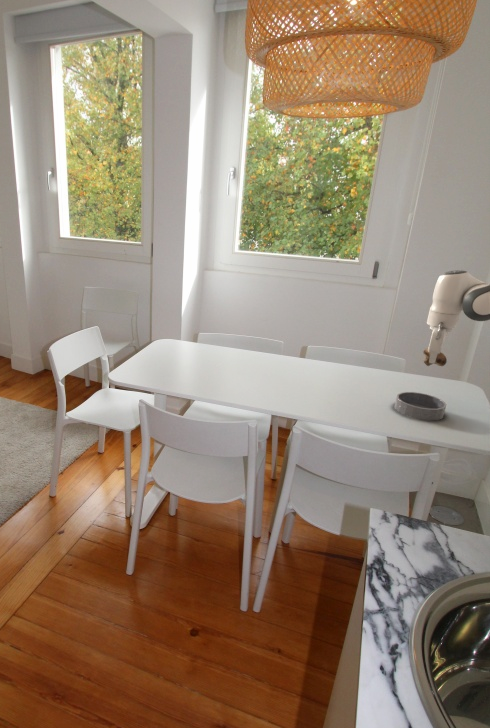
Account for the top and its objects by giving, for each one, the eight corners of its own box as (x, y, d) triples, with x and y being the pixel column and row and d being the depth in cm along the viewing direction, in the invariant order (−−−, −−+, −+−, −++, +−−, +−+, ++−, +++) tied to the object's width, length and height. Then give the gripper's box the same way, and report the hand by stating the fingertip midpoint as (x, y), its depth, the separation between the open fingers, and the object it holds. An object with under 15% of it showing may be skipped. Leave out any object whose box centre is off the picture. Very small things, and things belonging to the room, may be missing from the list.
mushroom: (418, 358, 159) (432, 343, 157) (414, 359, 166) (427, 345, 165) (439, 373, 157) (453, 358, 155) (433, 373, 164) (447, 359, 163)
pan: (444, 410, 167) (447, 398, 165) (440, 425, 155) (444, 413, 154) (398, 399, 175) (400, 388, 173) (390, 413, 163) (393, 402, 162)
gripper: (451, 327, 146) (441, 369, 151) (455, 315, 162) (445, 353, 167) (428, 324, 150) (419, 365, 155) (434, 313, 165) (425, 350, 170)
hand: (433, 359), depth 161 cm, fingers closed on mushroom, 7 cm apart
